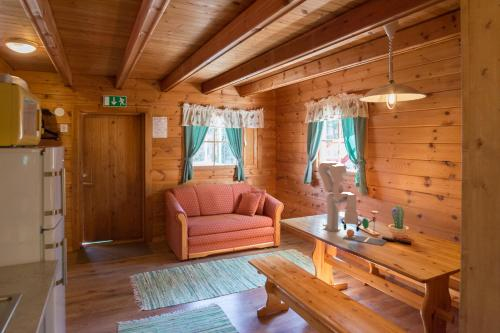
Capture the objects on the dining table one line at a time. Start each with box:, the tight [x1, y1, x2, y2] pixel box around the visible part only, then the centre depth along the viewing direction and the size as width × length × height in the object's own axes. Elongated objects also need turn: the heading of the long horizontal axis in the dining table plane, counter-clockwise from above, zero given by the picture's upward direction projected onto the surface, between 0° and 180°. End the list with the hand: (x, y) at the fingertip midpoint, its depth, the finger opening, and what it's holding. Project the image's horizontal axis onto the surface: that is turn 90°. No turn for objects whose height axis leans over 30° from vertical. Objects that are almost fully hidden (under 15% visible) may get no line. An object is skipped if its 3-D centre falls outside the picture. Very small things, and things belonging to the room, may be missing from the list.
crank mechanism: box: [359, 210, 380, 237], centre depth 285 cm, size 25×7×19 cm, turn 13°
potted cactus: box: [387, 205, 410, 239], centre depth 271 cm, size 15×15×25 cm
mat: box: [342, 234, 387, 247], centre depth 263 cm, size 30×13×1 cm, turn 56°
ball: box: [346, 228, 355, 237], centre depth 269 cm, size 6×6×6 cm
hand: (351, 230), depth 267 cm, fingers open, 9 cm apart
